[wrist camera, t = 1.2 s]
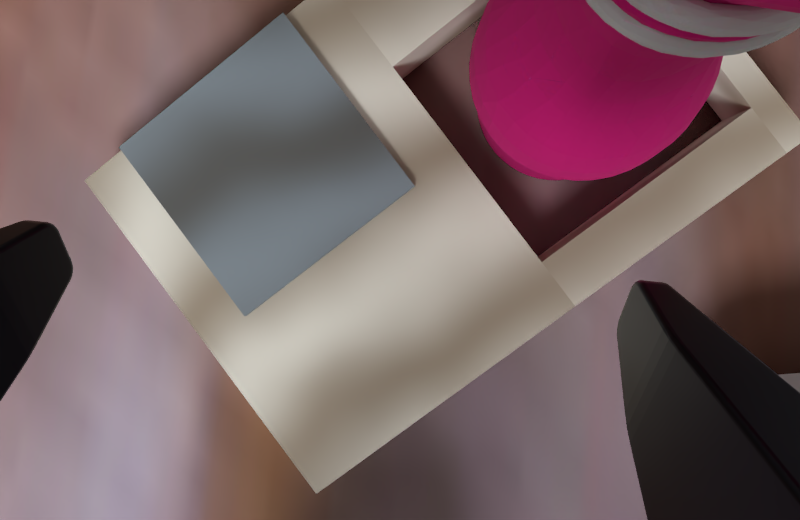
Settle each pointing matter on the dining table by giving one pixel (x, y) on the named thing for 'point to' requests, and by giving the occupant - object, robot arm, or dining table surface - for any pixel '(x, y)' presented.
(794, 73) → the dining table surface
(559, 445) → the dining table surface
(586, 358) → the dining table surface
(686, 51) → the pepper mill
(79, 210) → the dining table surface
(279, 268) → the puzzle board
